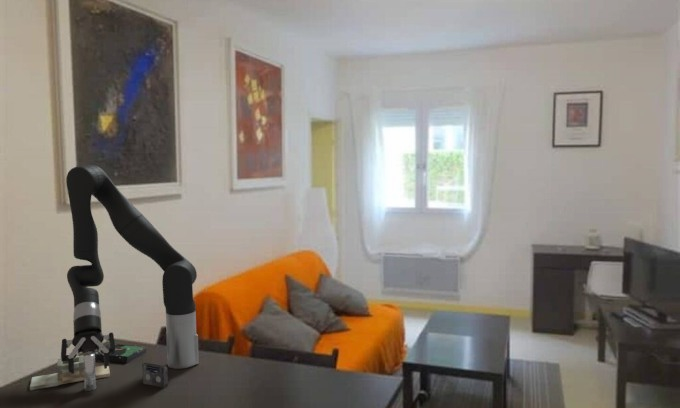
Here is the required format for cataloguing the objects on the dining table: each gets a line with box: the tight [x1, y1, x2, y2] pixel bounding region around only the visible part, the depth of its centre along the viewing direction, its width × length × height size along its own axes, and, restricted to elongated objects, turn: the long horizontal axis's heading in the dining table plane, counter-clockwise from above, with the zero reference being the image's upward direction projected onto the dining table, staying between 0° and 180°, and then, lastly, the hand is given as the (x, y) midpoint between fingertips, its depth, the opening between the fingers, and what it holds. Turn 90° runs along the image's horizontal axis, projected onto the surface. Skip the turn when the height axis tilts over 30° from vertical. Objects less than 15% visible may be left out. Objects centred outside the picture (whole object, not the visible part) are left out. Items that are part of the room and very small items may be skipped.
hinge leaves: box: [29, 354, 111, 391], centre depth 155 cm, size 21×8×6 cm, turn 117°
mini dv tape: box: [141, 362, 169, 389], centre depth 150 cm, size 8×2×6 cm, turn 65°
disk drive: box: [90, 343, 147, 364], centre depth 174 cm, size 10×3×15 cm
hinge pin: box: [82, 352, 97, 392], centre depth 147 cm, size 3×3×10 cm
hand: (89, 369), depth 147 cm, fingers open, 8 cm apart
